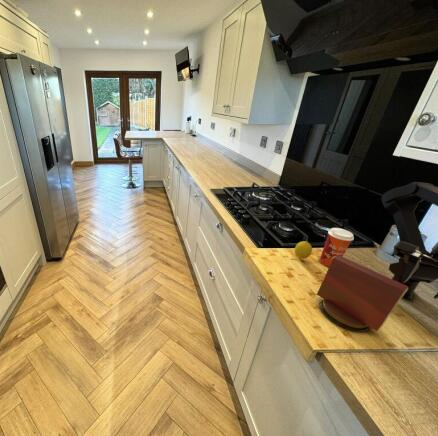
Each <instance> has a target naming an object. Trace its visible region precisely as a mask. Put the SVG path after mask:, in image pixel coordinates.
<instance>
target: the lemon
mask: <svg viewBox="0 0 438 436" xmlns="http://www.w3.org/2000/svg"><path fill="white" fill-rule="evenodd" d="M312 251H313V247H312V245H311V244H310V243H309V242H308V241H306V240H305V241H304V240H303V241H299V242H298V243H297V244H296V245H295V246H294V254H295V256H296V257H297V259H299V260H302V259H303V260H305V259H307V258H309V257H310V256H311V254H312Z"/></svg>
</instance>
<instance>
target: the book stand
mask: <svg viewBox="0 0 438 436" xmlns="http://www.w3.org/2000/svg"><path fill="white" fill-rule="evenodd" d="M407 290H408V286H406V285H404V284H401V283H399V282H397V281H395V280H393V279H392V278H391V277H388V276H386V275H384V274H382V273H380V272H377V271H376V270H372V269H371V268H369V267H366V266H364V265H361V264H359V263H357V262H355V261H354V260H351V259H349V258H346V257H344V256H340V255H338V256H336V257H334V258H333V260H332V262H331V264H330V267H328V268H327V270H326V273H325V275H324V277H323V280H322V282H321V283H320V286H319V289H318V291H317V293H316V296H318V297H319V298H321V299H322V300H323V303H322V304H323V308H324V310H325V311H326V312H327V313H328V314H329V315H330V316H331V317H332V318H334V319H335V320H337V321H338V322H340V323H342V324H344V325H347V326H349V327H353V328H359V329H362V328H366V327H368V326H369V328H370V329H371V330H374V331H376V332H378V331H380V330H382V328H383V326H385V324H386V322H387V321H388V319H389V318H390V316H391V315H392V313H393V312H394V310H395V309H396V308H397V306H398V305H399V303H400V302H401V300H402V299H403V298H404V297H403V296H404V294H405V293H406V291H407Z"/></svg>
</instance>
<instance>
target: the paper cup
mask: <svg viewBox="0 0 438 436" xmlns="http://www.w3.org/2000/svg"><path fill="white" fill-rule="evenodd" d="M327 233H328V234H327V236H326V240H325V243H324V246H323V249H322V252H321V255H320V257H319V258H320V259H319V263H320V264H322V265H323V266H324V267H327V268H329V267H330V264H331V262H332V260H333V258H334V257H336V256H338V255H340V256H342V257H344V255H345V253H346V252H347V249H348V248H349V247H350V244H351V243H352V241H354V239H355V237H354V233H352V232H351V231H349V230H347V229H344V228H340V227H331V228H330V230H328V231H327Z"/></svg>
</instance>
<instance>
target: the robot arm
mask: <svg viewBox="0 0 438 436" xmlns="http://www.w3.org/2000/svg"><path fill="white" fill-rule="evenodd" d="M424 201H426V202H428V203H430V204H432V205H434V206H436V207H438V186H435V185H434V184H432V183H429V182H428V183H427V182H420V181H419V182H418V181H414V182H410V183H408V184H406V185H403V186H400V187H394V188H392V189H390V190H388V191H386V192H384V193H383V194H382V196H381V203H382V205H383V207H384V209H385V210H386V211H387V212H389V213H390V214H391V215H392V217H393V220H394V223H395V227H396V231H397V234H398V238H399V241H398V242H396V243H395V244H394V245H393V254H394V255H395V256H396V257H397V258H398V261H397V262H393V263H390V264H389V266H388V271H389V272H390V273H392V275H393V276H392V278H391V279H393V280H395V281H397V282H399V283H401V284H404V285H406V286H408V290H407V291H406V293H405V294H404V296H403V297H402V298H404V299H407V300H408V301H412V300H413V296H414V294H415V290H416V289H417V288H418V286H419V284H420V283H427V284H432V283H433V282H434V281H436V280H438V241H437V242H436V243H435V244H434V245H433V246H432V248H431V251H430V252H429V251H428V250H427V248H426V246H425V242H424V240H423V239H424V238H423V237H422V233H421V230H420V227H419V224H418V222H417V217H416V215H415V211H416V209H417V207H418V206H419V203H422V202H424ZM433 299H435V300H437V299H438V292H437V293H435V295H433Z"/></svg>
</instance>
